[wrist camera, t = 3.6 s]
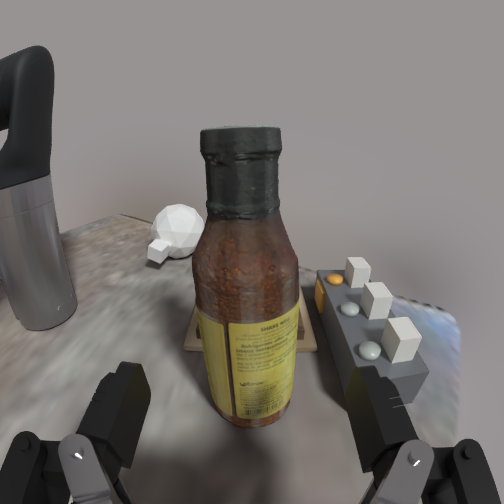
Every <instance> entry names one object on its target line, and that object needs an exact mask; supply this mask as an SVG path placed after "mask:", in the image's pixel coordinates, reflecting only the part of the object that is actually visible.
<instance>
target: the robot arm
mask: <svg viewBox="0 0 504 504" xmlns="http://www.w3.org/2000/svg"><path fill="white" fill-rule="evenodd" d="M53 95H54V65H53V61H52V57H51V55H50V53H49V51H48V50H47V49H46V48H44V47H42V46H32V47H29V48H26V49H23V50H21V51H18V52H17V53H14V54H11V55H9V56H7V57H5V58H3V59H1V60H0V131H2V130H5V129H8V128H9V130H8V136H7V140H6V142H5V143H4V145H3V147H2V149H1V150H0V277H1V280H2V283H3V286H4V288H5V291H6V294H7V297H8V299H9V302H10V305H11V307H12V310H13V312H14V315H15V317H16V319H19V320H20V321H21V324H22V325H23V326H24V327H25V328H27V329H30V330H45V329H49V328H52V327H54V326H57V325H59V324H61V323H62V322H64V321H65V320H67V319H68V318H69V317H70V316H71V315H72V314H73V313H74V311H75V309H76V307H77V300H76V297H75V294H74V290H73V287H72V283H71V280H70V276H69V272H68V268H67V264H66V260H65V256H64V252H63V247H62V243H61V238H60V233H59V228H58V222H57V217H56V211H55V204H54V198H53V191H52V182H51V174H50V155H51V146H52V144H51V141H52V135H51V134H52V129H51V127H52V107H53ZM150 399H151V391H150V387H149V384H148V381H147V379H146V376H145V373H144V370H143V367H142V365H141V364H138V363H131V362H124V361H122V362H121V363H120V364H119V366H118V368H117V370H116V373H111V372H110V373H108V374H107V375H106V376H105V377H104V378H103V379H102V380H101V381H100V383H99V385H98V387H97V389H96V393H94V395H93V397H92V401H91V402H90V404H89V406H88V408H87V410H86V412H85V415H84V417H83V419H82V421H81V423H80V426H79V428H78V430H77V432H76V433H75V434H71V435H68V436H66V437H65V438H64V439H63V440H62V441H45V440H40V439H39V438H38V437H37V436H36V435H35V434H34V433H32V432H29V431H23V432H20V433H19V434H17V435H16V436H15V437H14V439H13V441H12V443H11V446H10V448H9V450H8V453H7V455H6V458H5V460H4V463H3V465H2V468H1V470H0V504H68V503H69V499H70V495H72V497H73V503H71V504H134V502H133V500H132V498H131V496H130V494H129V493H128V491H127V489H126V487H125V485H124V483H123V481H122V479H121V477H120V475H119V472H120V468H121V467H125V468H129V469H131V465H132V461H133V458H134V454H135V451H136V447H137V444H138V440H139V437H140V433H141V430H142V427H143V423H144V420H145V417H146V413H147V410H148V407H149V404H150ZM345 405H346V409H347V413H348V417H349V420H350V424H351V428H352V432H353V435H354V439H355V443H356V447H357V451H358V455H359V459H360V463H361V467H362V471H363V473H366V472H371V471H372V472H373V476H374V478H373V479H372V481H371V483H370V484H369V486H368V488H367V490H366V492H365V493H364V495H363V497H362V499H361V500H360V502H359V504H418V501H419V499H420V497H421V498H422V503H423V504H501V501H500V498H499V495H498V491H497V488H496V485H495V482H494V479H493V476H492V474H491V471H490V468H489V465H488V463H487V460H486V457H485V455H484V452H483V450H482V448H481V446H480V444H479V443H478V442H476V441H475V440H473V439H464V440H462V441H460V442H459V443H458V444H457V445H456V446H455V447H445V448H433V447H431V446H430V445H429V444H428V443H426V442H425V441H422V440H419V438H418V436H417V434H416V432H415V430H414V427H413V425H412V422H411V420H410V417H409V415H408V413H407V410H406V408H405V406H404V403H403V401H402V399H401V398H400V394H399V392H398V390H397V388H396V386H395V384H394V383H393V382H392V381H391V380H390V379H389V378H388V377H387V376H385V377H380V375H379V373H378V370H377V368H376V367H375V366H374V365H369V366H360V367H355V368H354V369H353V372H352V375H351V378H350V381H349V384H348V386H347V389H346V392H345Z"/></svg>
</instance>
